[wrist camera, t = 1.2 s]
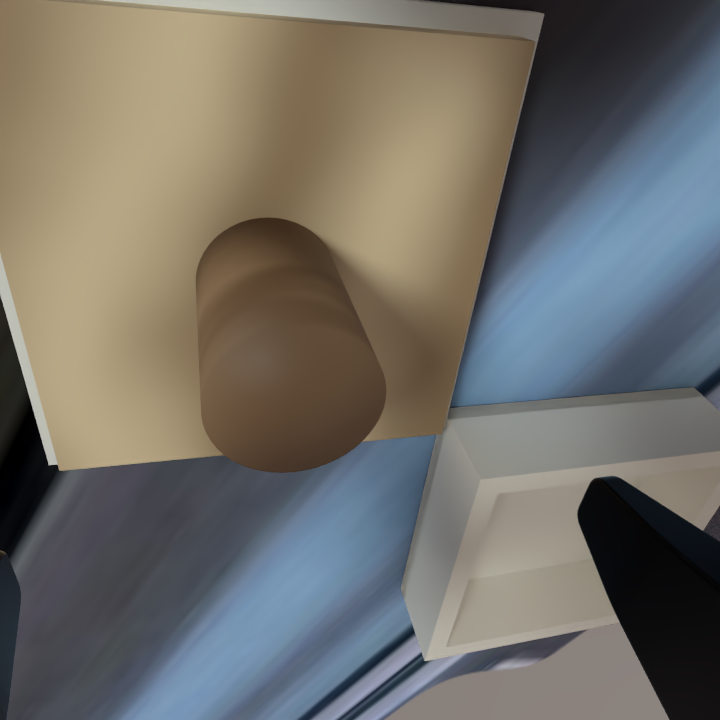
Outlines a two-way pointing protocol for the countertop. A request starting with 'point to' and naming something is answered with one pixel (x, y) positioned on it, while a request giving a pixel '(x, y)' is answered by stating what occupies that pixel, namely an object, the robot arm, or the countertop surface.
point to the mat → (341, 3)
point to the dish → (543, 510)
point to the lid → (245, 224)
